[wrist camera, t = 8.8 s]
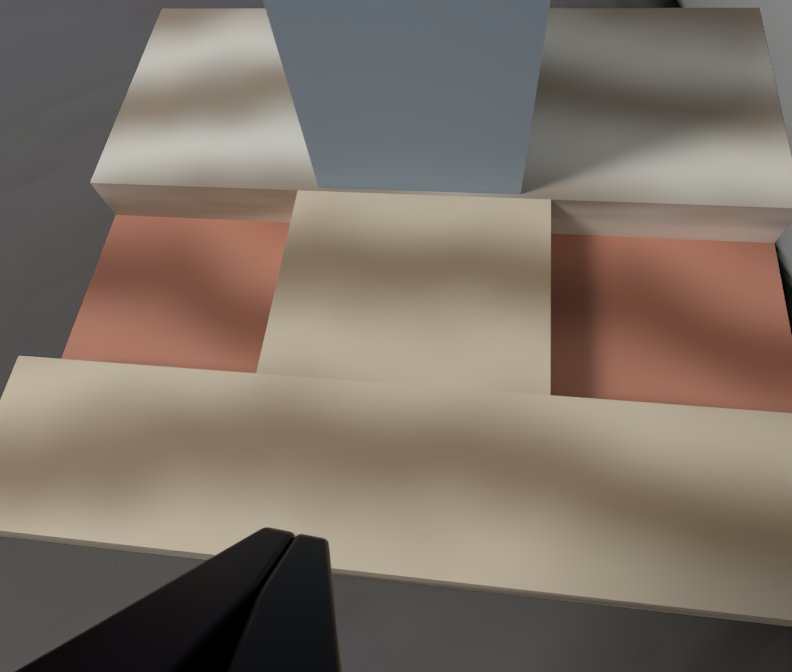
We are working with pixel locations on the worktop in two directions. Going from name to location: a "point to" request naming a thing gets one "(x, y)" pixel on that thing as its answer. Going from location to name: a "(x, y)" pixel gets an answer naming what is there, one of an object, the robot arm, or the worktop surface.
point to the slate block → (413, 89)
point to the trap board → (440, 333)
